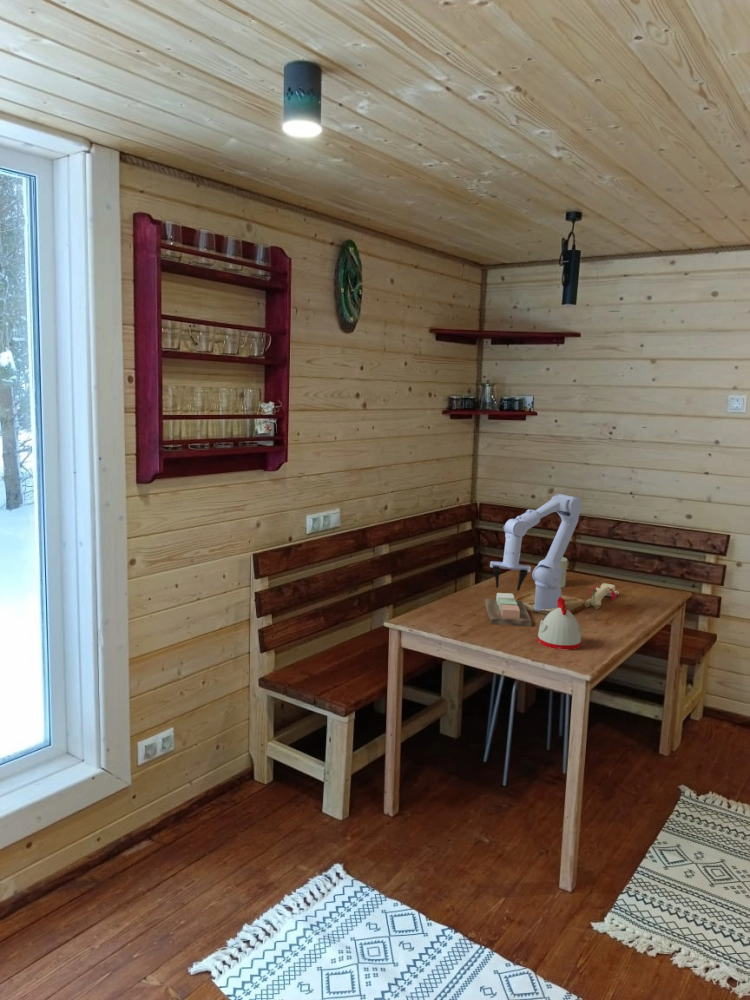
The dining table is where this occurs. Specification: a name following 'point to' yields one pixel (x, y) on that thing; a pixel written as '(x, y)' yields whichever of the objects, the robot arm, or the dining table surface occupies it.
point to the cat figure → (601, 595)
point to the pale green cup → (563, 566)
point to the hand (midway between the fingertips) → (507, 588)
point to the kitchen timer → (560, 629)
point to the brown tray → (497, 619)
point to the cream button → (504, 596)
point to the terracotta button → (510, 611)
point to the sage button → (506, 602)
